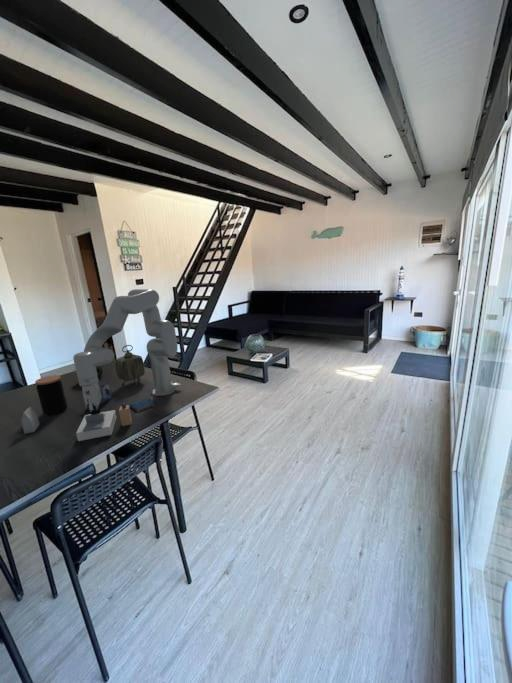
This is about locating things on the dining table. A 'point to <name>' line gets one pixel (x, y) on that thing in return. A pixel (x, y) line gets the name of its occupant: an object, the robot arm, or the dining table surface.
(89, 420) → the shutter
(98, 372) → the squash
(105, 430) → the socket block
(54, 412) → the coffee jar
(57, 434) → the dining table surface
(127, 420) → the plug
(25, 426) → the grey faceted stone
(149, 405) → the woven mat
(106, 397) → the small box
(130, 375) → the tabletop clock
